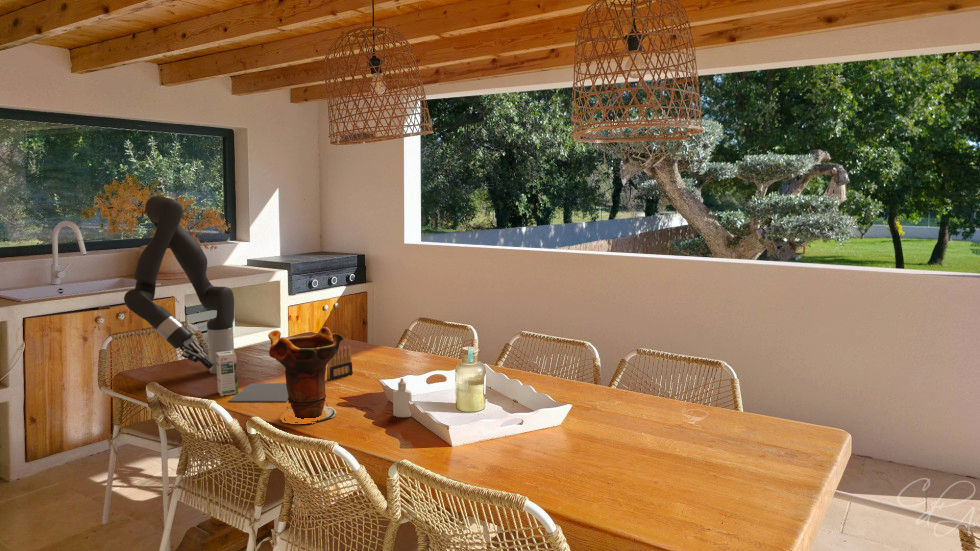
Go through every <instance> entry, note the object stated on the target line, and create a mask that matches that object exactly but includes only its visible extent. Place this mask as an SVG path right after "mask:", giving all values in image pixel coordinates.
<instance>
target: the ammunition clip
mask: <svg viewBox="0 0 980 551" xmlns="http://www.w3.org/2000/svg"><path fill="white" fill-rule="evenodd" d="M351 353H352V352H351V347H350V344H349V343H348V344H347V346H346V344H344V345H343V346H342V345H339V349H338V351H337V353H336V354H335V356H334V357H333V358H332V359H331V360H330V361H329V362H328V363H327V366H326V376H327V378H326V379H327V381H331V380H332V381H335V380H339V379H342V378H341V377H343V378H345V376H346V377H349V376H348V375H350V376H352V374H353V373H354V372H353V362H352V354H351ZM353 375H354V374H353ZM338 378H339V379H338ZM334 379H335V380H334Z"/></svg>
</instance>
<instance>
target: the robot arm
mask: <svg viewBox="0 0 980 551" xmlns="http://www.w3.org/2000/svg"><path fill="white" fill-rule="evenodd" d="M144 209H145V213H146V216H147V217H148V219H149V220H150V222H151V223H152V224H153V225H154V227H155V232H154V234H153V236H152V238H151V240H150V241H149V243H148V244H147V245H146V247H145V248H144V249H143V250H142V252H141V254H140V255H139V257H138V261H137V265H136V268H135V270H134V275H133V278H134V280H136V281H135V282H136V283H135V287H134V288H132V289H130V290H128V291H127V292H126V293H125V294H124V296H123V301H124V305H125V306H126V307H127V308H128V309H129V310H130V311H131V312H132V313H133V314H135V315H137V316H138V317H140V318H141V319H143V320H145V321H147V323H148V324H149V325H150V326H151V327H152V328H153V329H154V330H155V331H157V332H158V334H159V335H160V336H161V337H162V338H163V339H164V340H165V341H166V342H167V343H168V344H169V345H171V347H173V348H174V349H175V350H176V349H180V351H182V353H181V356H182V358H185V359H187V360H189V361H192V362H194V363H197V362H198V363H201V364H202V365H203V366H204V367H206V369H207V370H209V373H210V374H214V375H217V368H216V353H217V352H225V351H234V352H235V342H234V339H235V338H234V327H233V326H234V324H233V322H234V319H235V296H234V293H233V290H232V289H231V288H229V286H228V287H227V286H216V285H213V284H212V283H211V282H210V280H209V278H208V276H207V269H208V259H207V255H206V254H205V252H204V250H203V249H202V247H201V246H200V244H199V243H198V242H197V240H196V239H195V238H194V237H193V236H192V235H191V234H190V233H189V232H187V231H186V230H185V228H184V227H182V225H181V224H180V222H181V220H182V218H183V217H182V216H183V211H184V210H183V206H182V204H181V203H180V202H179V201H177V200H175V199H173V198H170V197H166V196H161V195H154V196H151V197H150V198H148V199H147V201H146V203H145V208H144ZM168 247H169V249H170V251H171V253H172V254H173V256H174V257H175V260H177V262H178V264H179V266H180V267H181V269H182V270H183V272H184V273H185V275H186V277H187V278H188V280H189V282H190V284H191V286H192V287H193V289H194V291H195V293H196V296H197V298H198V301H199V302H200V304H201V306H202V307H203V308H204V309H205V310H208V311H209V310H210V311H216V316H215V317H214V318H212V319H209V320H208V321H207V323H206V332H207V334H206V335H207V347H208V350H207V348H206V346H205V343H204V342H203V341H200V342H198V341H197V340H196V339H194V338H192V337H193V335H194V334H193V332H192V331H191V330H190V329H188V328H187V327H186V325H185V324H183V323H182V322H181V321H180V320H179V319H178V318H176V317H175V316H174V315H173V314H172V313H170V312H169V311H168V310H167V309H166V307H164V306H162V305H158V304H156V303H155V302H154V300H155V294H156V285H157V279H158V275H159V272H160V270H161V269H160V268H161V264H162V262H163V259H164V256H165V254H166V252H167V249H168Z"/></svg>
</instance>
